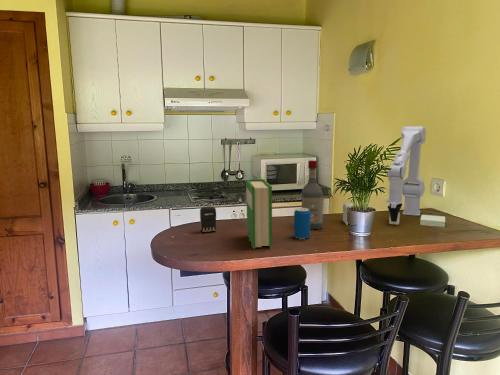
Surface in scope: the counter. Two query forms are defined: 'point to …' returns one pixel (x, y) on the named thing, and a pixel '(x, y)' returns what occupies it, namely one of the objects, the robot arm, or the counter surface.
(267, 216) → the hardback book
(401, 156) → the robot arm
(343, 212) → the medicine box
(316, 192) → the liquor
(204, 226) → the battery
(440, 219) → the sage block
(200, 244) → the counter surface
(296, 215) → the beverage can
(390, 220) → the cream block
